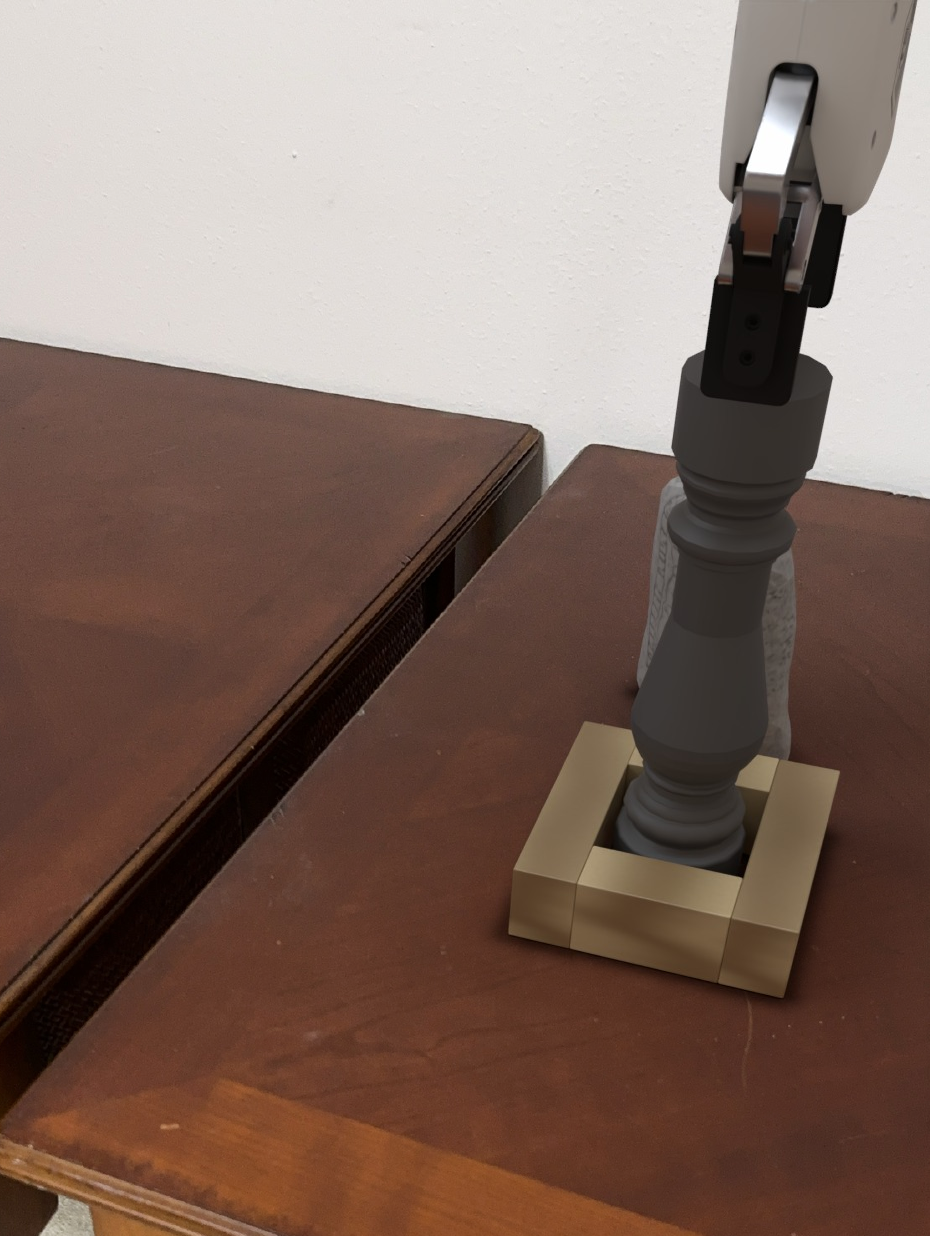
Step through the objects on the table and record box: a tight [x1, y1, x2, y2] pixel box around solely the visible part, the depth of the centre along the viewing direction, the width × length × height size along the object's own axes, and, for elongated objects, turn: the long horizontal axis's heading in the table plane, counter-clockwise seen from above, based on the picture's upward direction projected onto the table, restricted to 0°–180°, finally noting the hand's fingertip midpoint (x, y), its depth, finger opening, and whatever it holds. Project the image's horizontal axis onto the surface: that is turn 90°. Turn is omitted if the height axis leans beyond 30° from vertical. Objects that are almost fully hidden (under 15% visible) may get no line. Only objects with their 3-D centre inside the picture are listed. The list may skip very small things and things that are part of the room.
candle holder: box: [611, 349, 834, 877], centre depth 67 cm, size 6×6×25 cm
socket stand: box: [508, 720, 841, 999], centre depth 74 cm, size 13×13×4 cm
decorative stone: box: [636, 475, 797, 761], centre depth 80 cm, size 11×6×15 cm, turn 21°
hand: (768, 347), depth 58 cm, fingers open, 9 cm apart
